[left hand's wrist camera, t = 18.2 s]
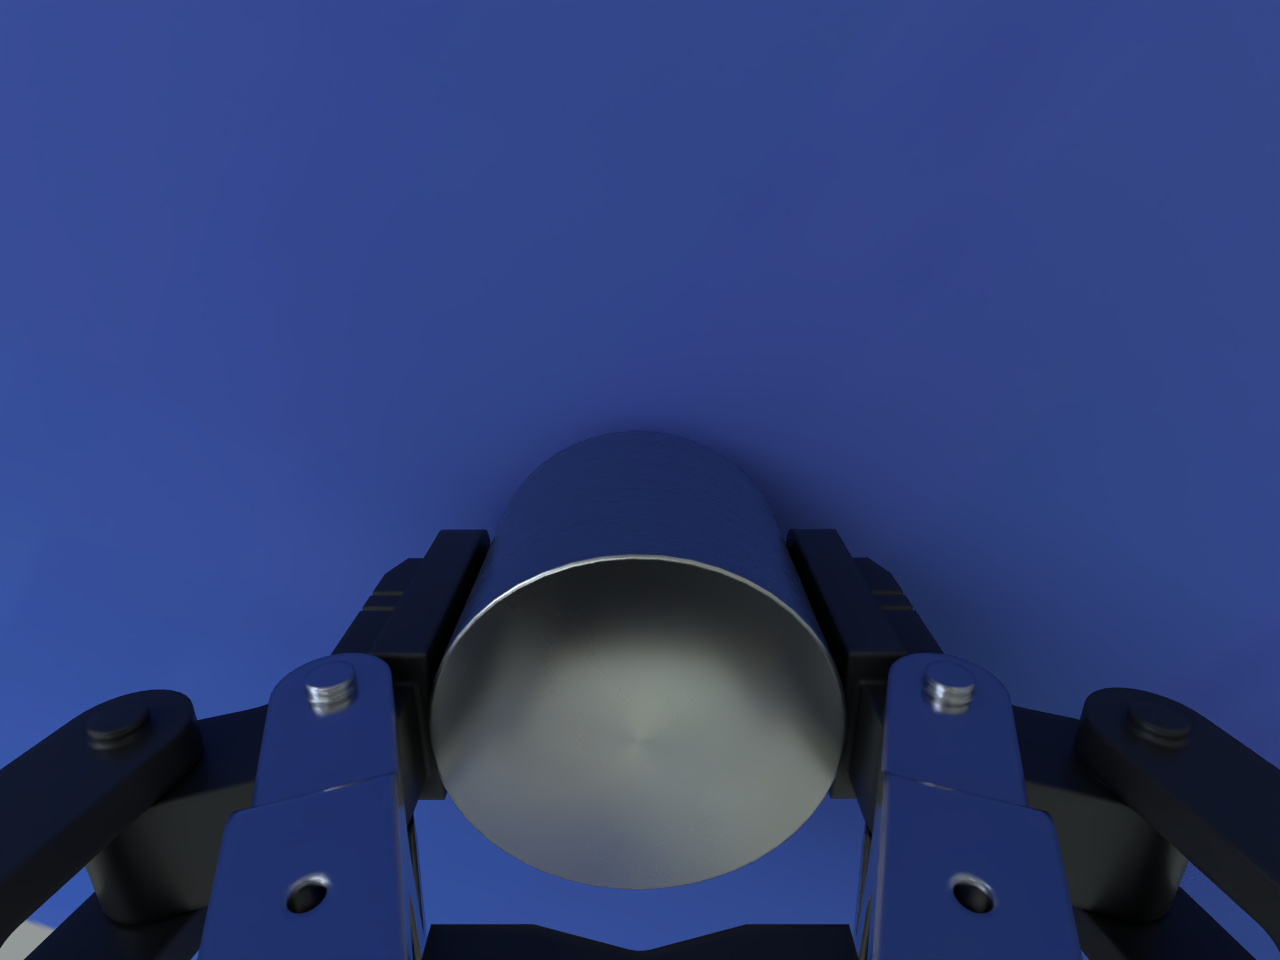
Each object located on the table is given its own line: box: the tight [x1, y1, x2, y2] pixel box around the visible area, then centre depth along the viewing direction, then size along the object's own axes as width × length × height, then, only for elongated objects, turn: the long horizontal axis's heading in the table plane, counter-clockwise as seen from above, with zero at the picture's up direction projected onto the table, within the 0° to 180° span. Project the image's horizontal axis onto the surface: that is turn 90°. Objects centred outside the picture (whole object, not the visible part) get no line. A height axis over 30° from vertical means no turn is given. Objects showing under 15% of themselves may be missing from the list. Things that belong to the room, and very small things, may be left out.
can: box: [428, 431, 847, 889], centre depth 10 cm, size 5×5×4 cm
